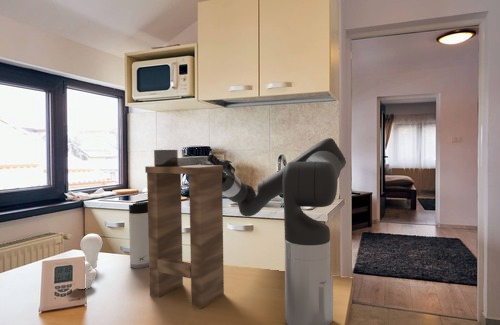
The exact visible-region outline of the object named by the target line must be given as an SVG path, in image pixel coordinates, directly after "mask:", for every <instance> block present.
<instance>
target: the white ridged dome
mask: <svg viewBox="0 0 500 325" xmlns="http://www.w3.org/2000/svg"><path fill="white" fill-rule="evenodd" d="M84 262H85V274H86V289H85V290H88V288H89V289H90V288H91V287H92V286H93V284H94V281H95V279H96V276H97V271H96V270H95V269H96V268H95V269H93V268H92V267H91V264H90V263H89V262H86V261H84Z"/></svg>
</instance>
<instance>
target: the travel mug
mask: <svg viewBox="0 0 500 325" xmlns="http://www.w3.org/2000/svg"><path fill="white" fill-rule="evenodd" d="M128 210H129V211H128V222H129V223H128V225H129V226H128V227H129V230H128V231H129V260H130V261H129V264H130V268H133V269H143V268H146V267H149V236H148V201H141V202H136V203H135V202H134V203H132V204H129V205H128Z"/></svg>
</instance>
